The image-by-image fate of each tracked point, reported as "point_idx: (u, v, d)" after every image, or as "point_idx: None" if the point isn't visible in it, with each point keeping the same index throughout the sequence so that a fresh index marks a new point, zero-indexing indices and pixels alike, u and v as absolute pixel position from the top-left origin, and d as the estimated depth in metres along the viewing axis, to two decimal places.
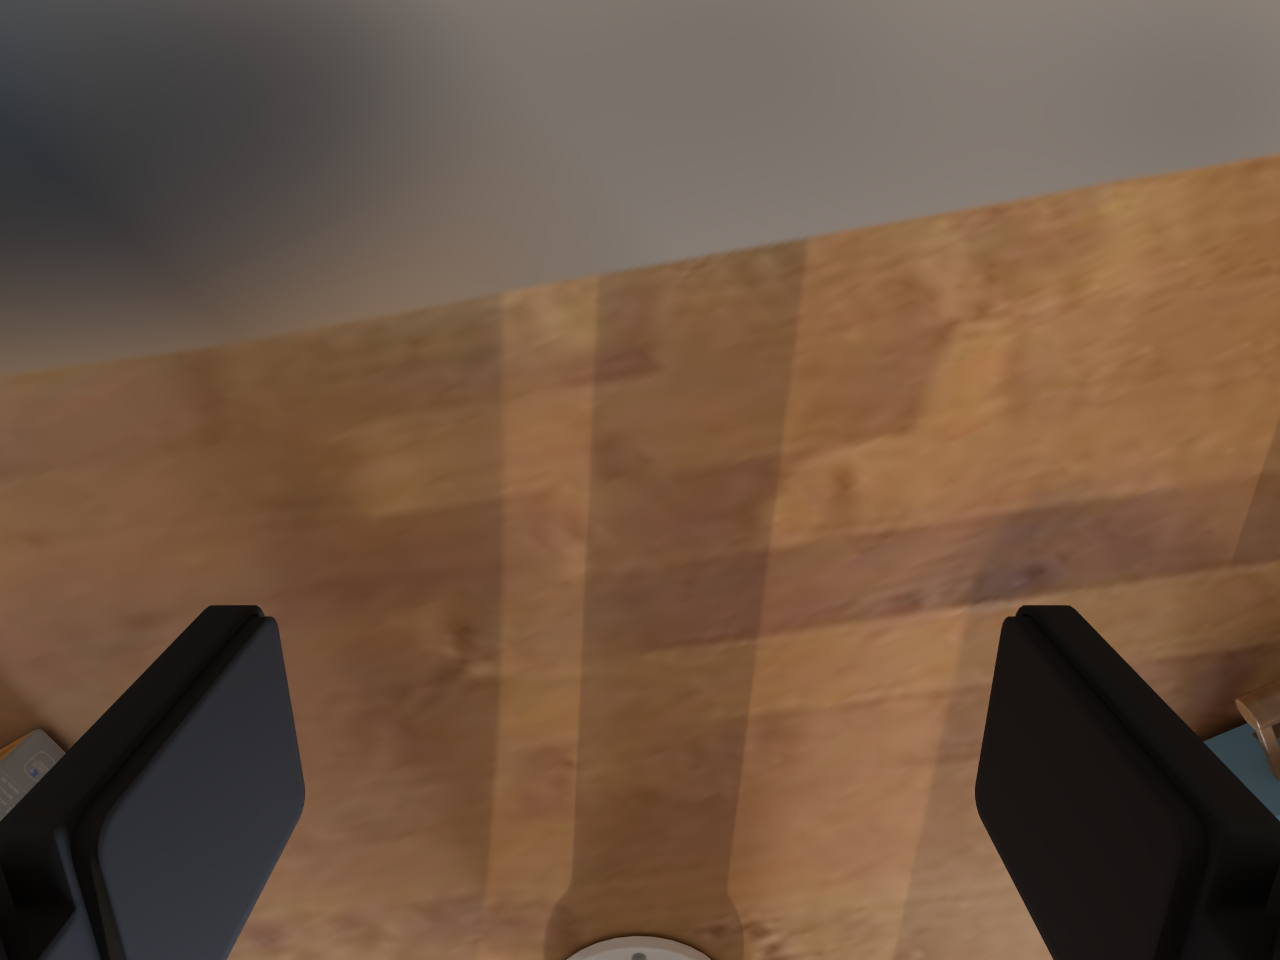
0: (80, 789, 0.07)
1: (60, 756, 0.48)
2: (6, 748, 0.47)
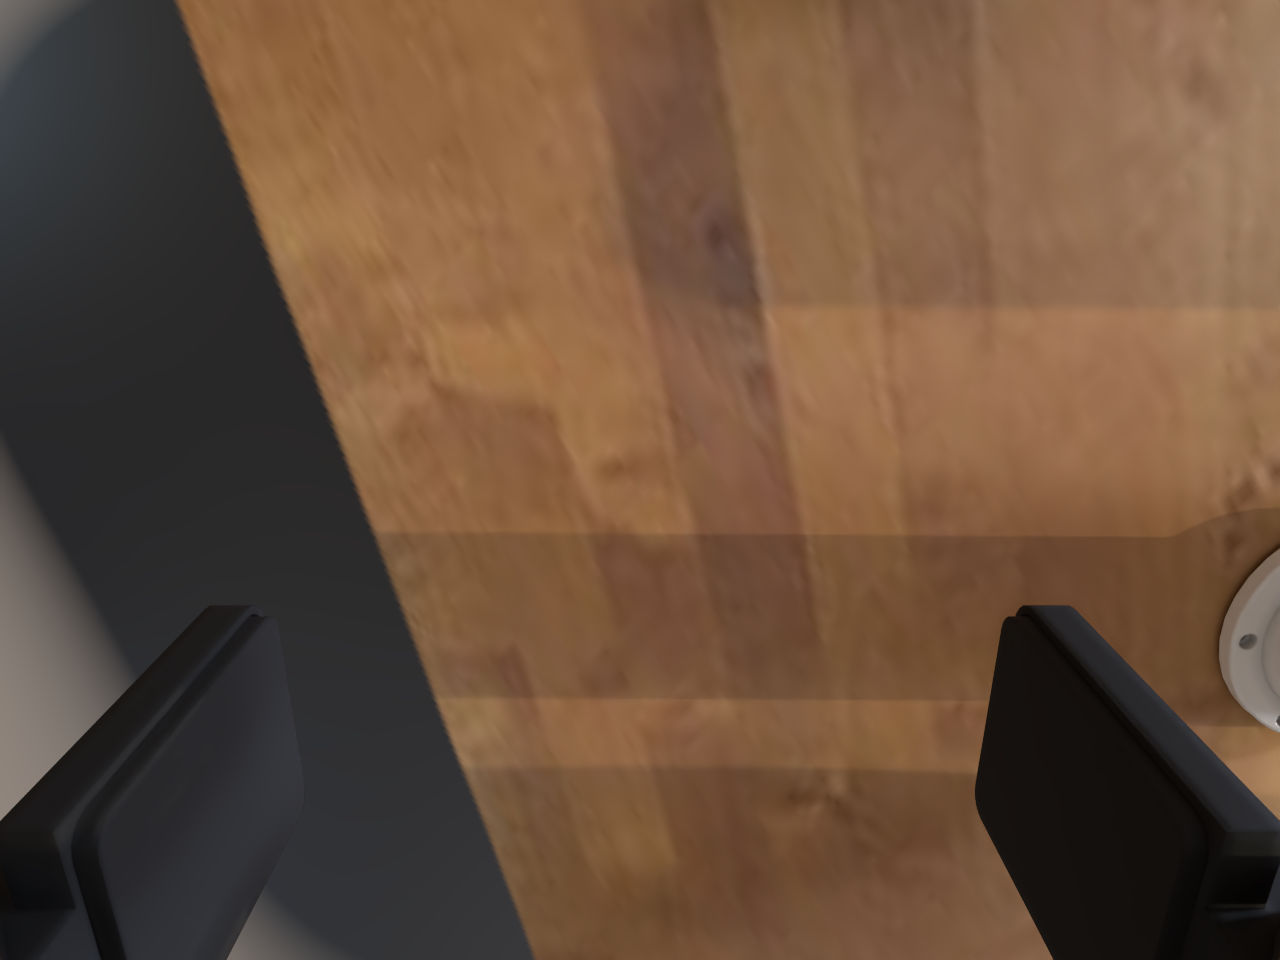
0: (80, 789, 0.07)
1: None
2: None
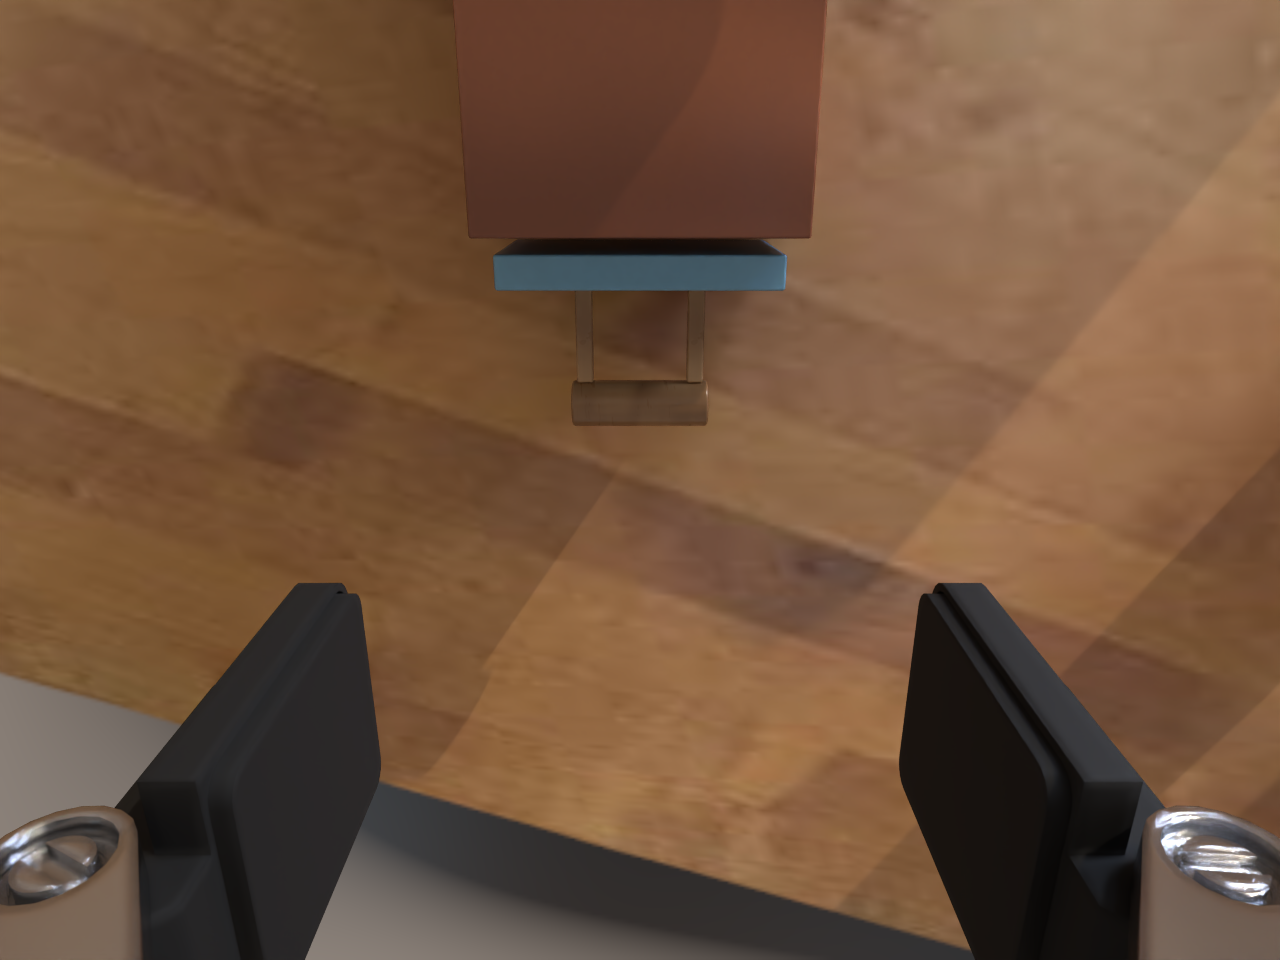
0: (211, 745, 0.08)
1: None
2: None
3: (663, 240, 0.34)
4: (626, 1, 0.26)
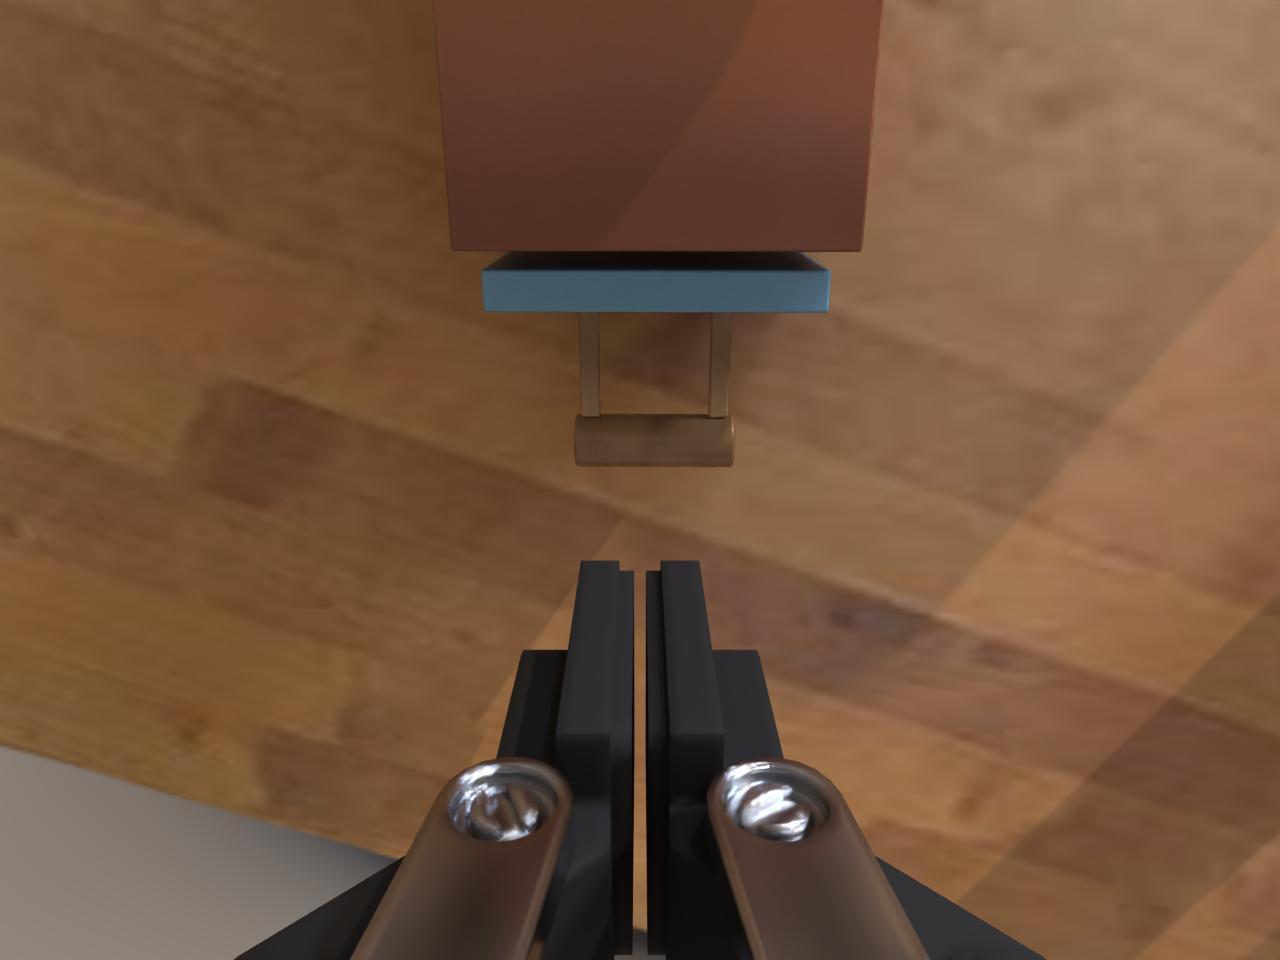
0: (600, 703, 0.08)
1: None
2: None
3: None
4: None
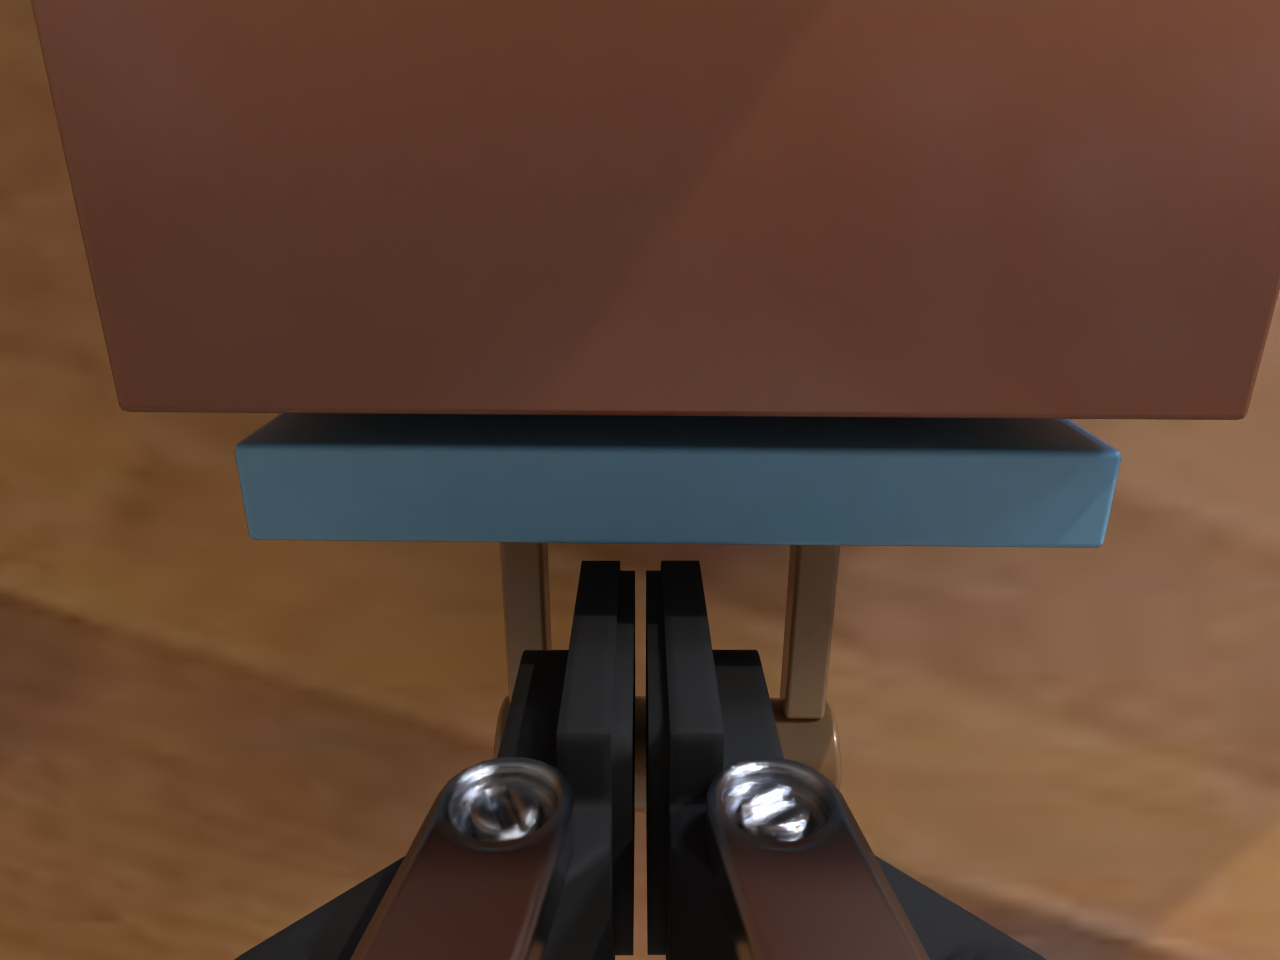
0: (600, 703, 0.08)
1: None
2: None
3: None
4: None
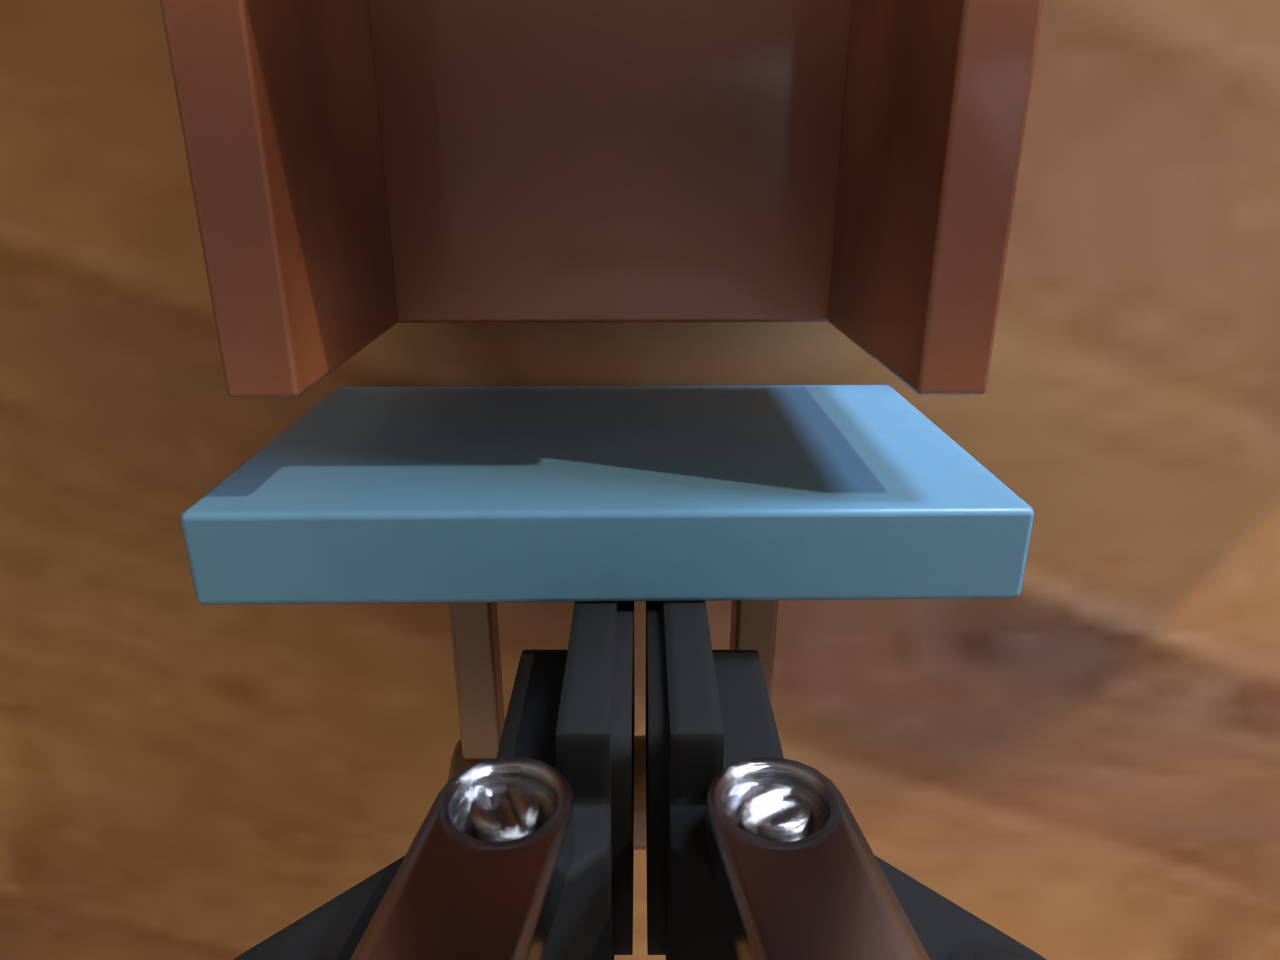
0: (600, 703, 0.08)
1: None
2: None
3: (668, 392, 0.15)
4: None
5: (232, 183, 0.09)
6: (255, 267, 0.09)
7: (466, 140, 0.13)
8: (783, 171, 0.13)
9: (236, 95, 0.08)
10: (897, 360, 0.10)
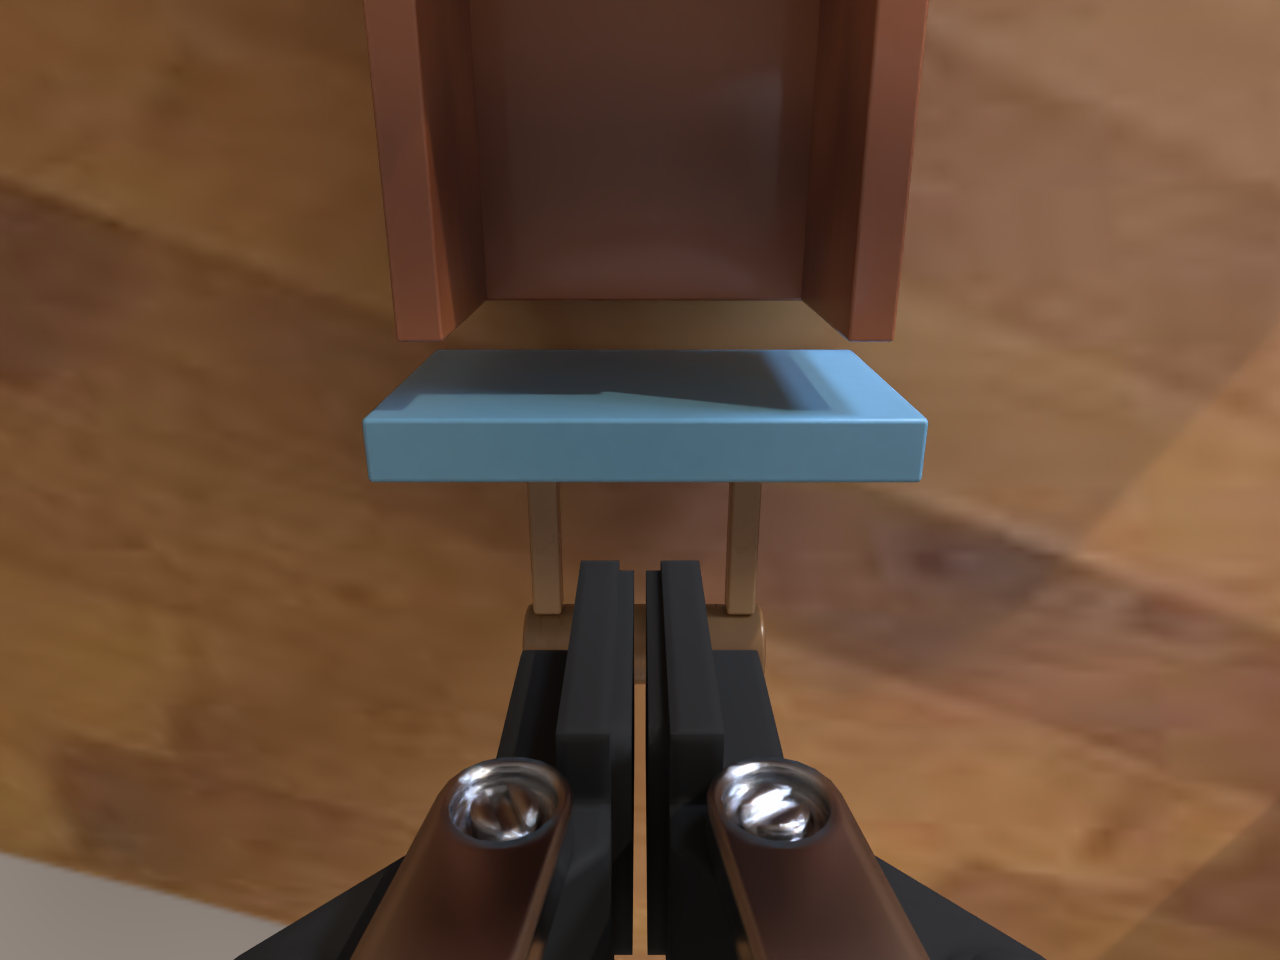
0: (600, 703, 0.08)
1: None
2: None
3: (683, 354, 0.20)
4: None
5: (408, 204, 0.14)
6: (420, 257, 0.14)
7: (540, 168, 0.18)
8: (768, 190, 0.18)
9: (415, 149, 0.14)
10: (838, 321, 0.15)
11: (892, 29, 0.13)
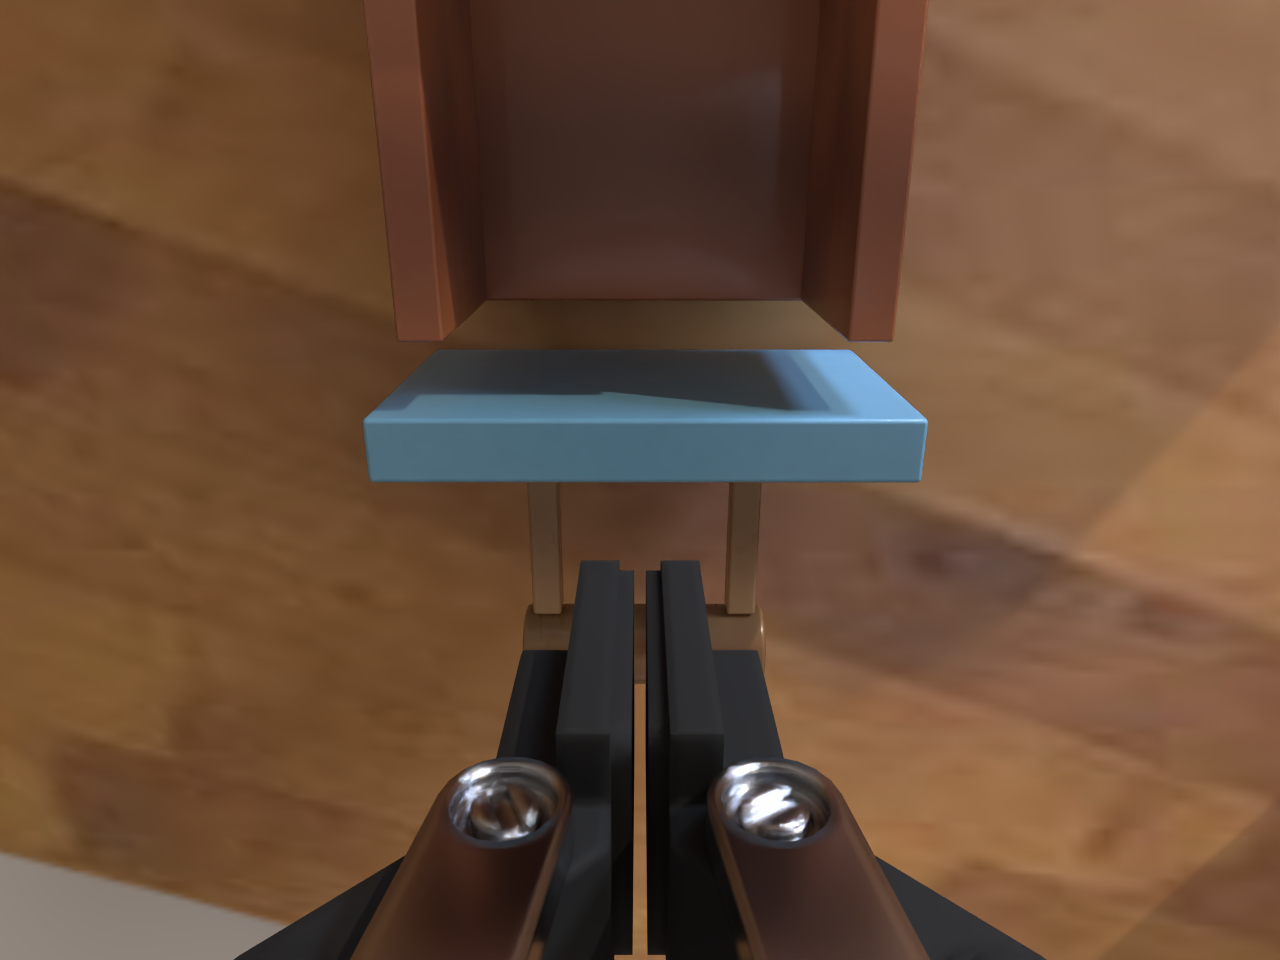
0: (600, 703, 0.08)
1: None
2: None
3: (683, 354, 0.20)
4: None
5: (409, 203, 0.14)
6: (420, 257, 0.14)
7: (540, 168, 0.18)
8: (768, 190, 0.18)
9: (415, 149, 0.14)
10: (838, 321, 0.15)
11: (891, 30, 0.13)
